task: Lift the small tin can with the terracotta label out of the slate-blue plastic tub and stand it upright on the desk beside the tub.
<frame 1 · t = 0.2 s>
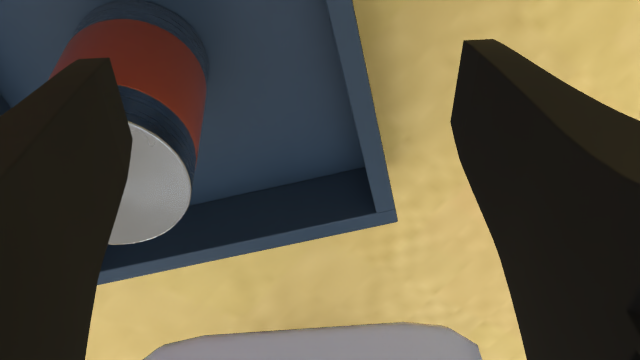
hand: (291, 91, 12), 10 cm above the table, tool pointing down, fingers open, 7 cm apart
tub: (169, 60, 23), on the table
tin can: (141, 62, 22), point 1 cm above the table, touching tub
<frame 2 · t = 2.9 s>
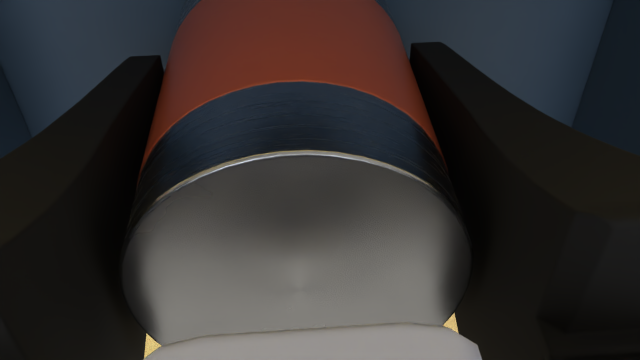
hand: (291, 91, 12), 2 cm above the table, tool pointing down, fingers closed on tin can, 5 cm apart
tub: (305, 3, 14), on the table
tin can: (287, 49, 14), point 1 cm above the table, touching gripper, tub
when the fingers open (2 cm above the table, at t = 8.0 s): tin can stays where it is, on the table.
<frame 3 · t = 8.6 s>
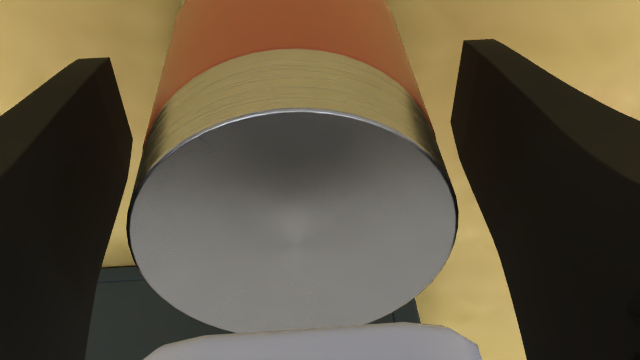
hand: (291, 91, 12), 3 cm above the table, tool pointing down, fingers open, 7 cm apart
tin can: (284, 30, 14), on the table
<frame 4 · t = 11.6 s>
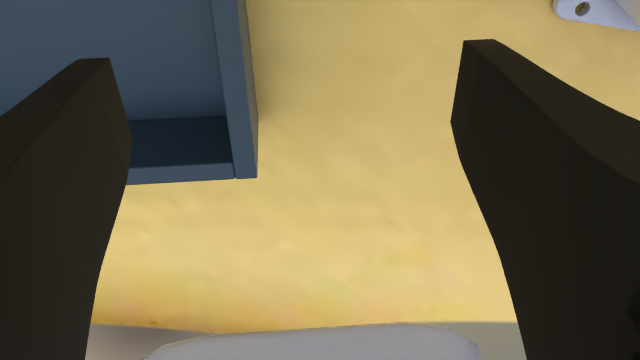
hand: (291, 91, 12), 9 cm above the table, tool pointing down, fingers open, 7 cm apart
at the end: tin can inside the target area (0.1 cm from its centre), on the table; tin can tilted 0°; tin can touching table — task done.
